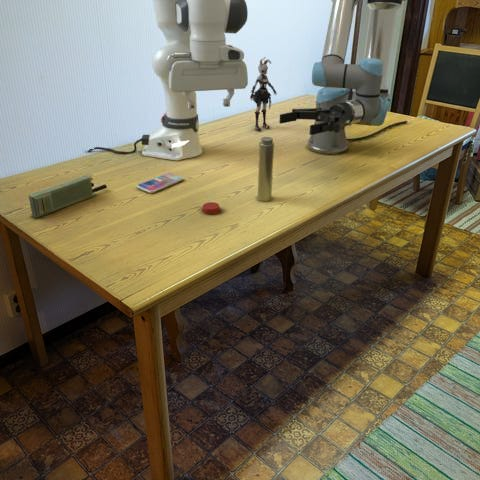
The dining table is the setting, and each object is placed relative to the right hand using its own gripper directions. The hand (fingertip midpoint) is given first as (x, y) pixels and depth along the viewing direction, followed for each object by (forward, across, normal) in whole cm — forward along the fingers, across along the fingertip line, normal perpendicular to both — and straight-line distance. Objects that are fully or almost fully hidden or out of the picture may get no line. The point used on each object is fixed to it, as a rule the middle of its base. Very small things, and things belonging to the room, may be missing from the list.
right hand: (294, 124), depth 151 cm
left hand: (+29, +2, +9) cm, 30 cm away
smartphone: (+32, +28, -22) cm, 47 cm away
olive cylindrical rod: (+10, 0, -22) cm, 24 cm away
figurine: (-33, +57, -22) cm, 69 cm away
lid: (+29, +2, -20) cm, 35 cm away
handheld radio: (+60, +30, -22) cm, 70 cm away
